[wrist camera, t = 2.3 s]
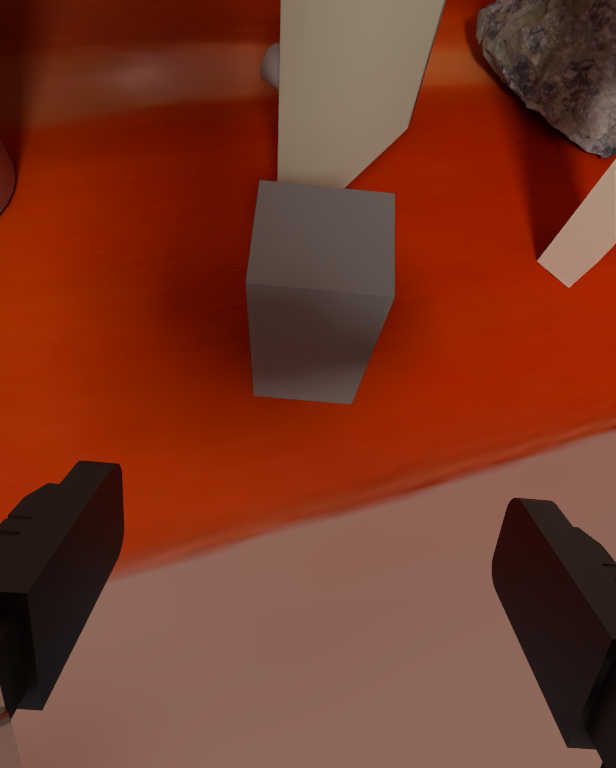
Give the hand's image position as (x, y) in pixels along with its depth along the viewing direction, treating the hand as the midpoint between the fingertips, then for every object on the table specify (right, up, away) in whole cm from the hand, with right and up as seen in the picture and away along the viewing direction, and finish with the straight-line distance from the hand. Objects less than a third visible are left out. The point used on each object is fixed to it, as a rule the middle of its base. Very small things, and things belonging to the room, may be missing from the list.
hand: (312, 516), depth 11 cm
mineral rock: (+18, +23, +27) cm, 39 cm away
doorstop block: (0, +4, +17) cm, 17 cm away
